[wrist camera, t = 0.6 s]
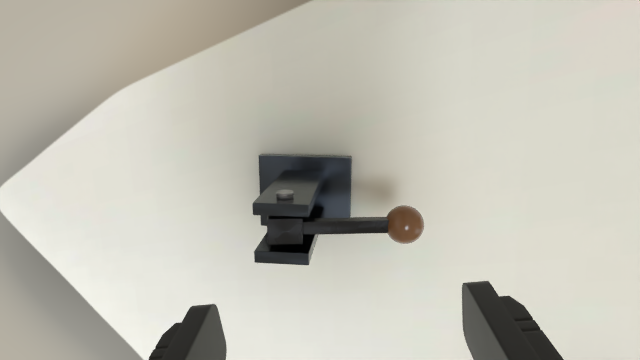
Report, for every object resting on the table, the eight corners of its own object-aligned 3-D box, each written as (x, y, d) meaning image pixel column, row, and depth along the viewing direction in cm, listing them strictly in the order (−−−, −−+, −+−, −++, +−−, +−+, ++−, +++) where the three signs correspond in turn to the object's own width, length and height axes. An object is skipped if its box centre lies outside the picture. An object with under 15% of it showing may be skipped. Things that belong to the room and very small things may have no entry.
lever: (418, 200, 35) (430, 211, 31) (416, 234, 35) (427, 249, 32) (269, 202, 34) (266, 214, 31) (269, 238, 34) (267, 252, 31)
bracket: (351, 155, 43) (345, 187, 29) (350, 225, 45) (343, 284, 31) (261, 153, 44) (216, 183, 30) (263, 222, 46) (221, 277, 32)
